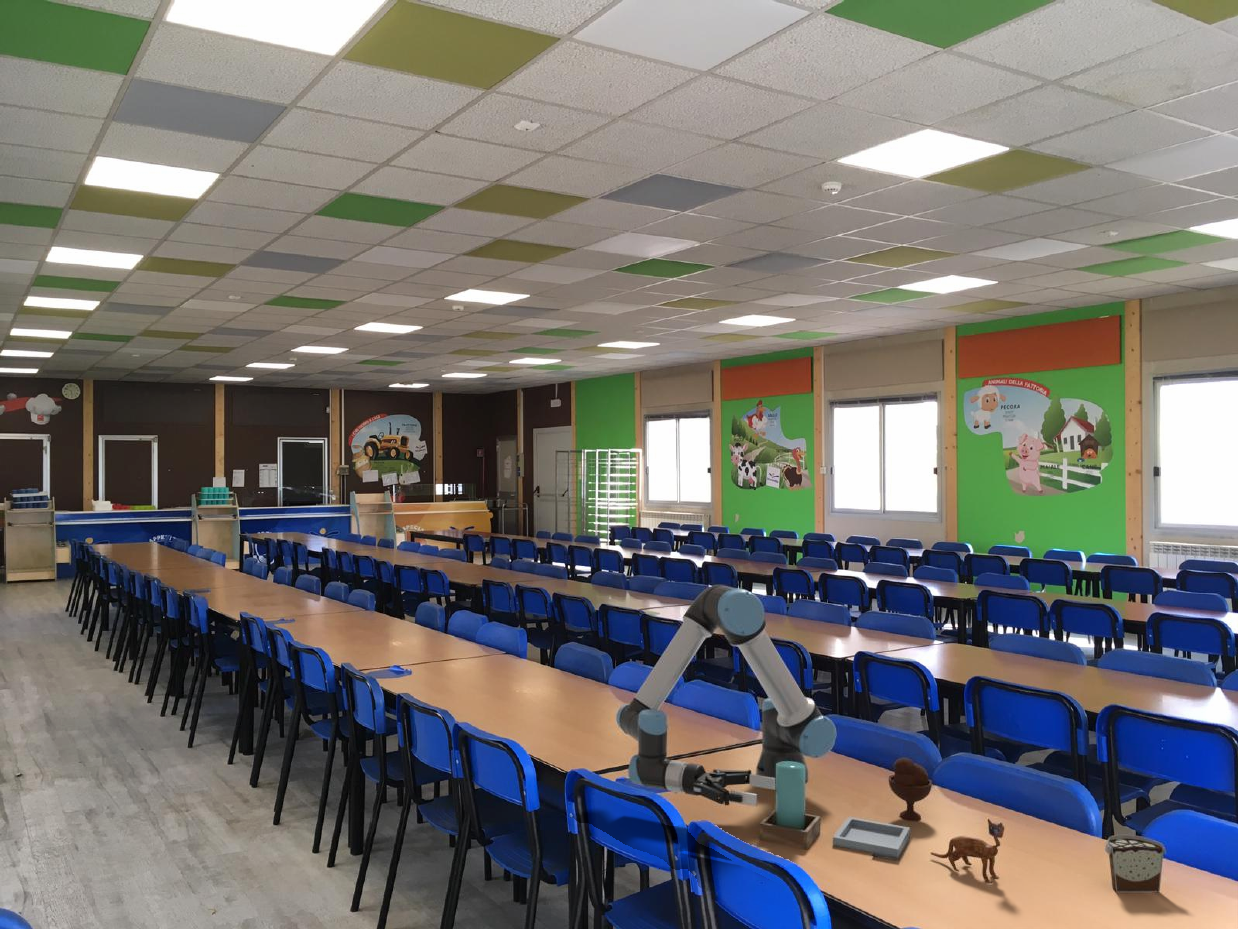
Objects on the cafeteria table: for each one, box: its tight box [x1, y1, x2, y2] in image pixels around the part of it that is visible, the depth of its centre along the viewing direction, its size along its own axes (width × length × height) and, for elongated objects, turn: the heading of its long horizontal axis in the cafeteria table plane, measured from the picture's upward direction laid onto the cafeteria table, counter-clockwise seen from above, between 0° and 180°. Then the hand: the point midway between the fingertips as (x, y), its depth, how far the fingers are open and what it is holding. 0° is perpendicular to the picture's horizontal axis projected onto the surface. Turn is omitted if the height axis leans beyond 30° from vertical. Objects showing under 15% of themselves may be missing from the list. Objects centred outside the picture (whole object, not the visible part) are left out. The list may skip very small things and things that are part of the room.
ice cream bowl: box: [888, 757, 933, 822], centre depth 236 cm, size 11×11×15 cm
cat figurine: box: [930, 818, 1005, 884], centre depth 203 cm, size 18×6×13 cm, turn 41°
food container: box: [1104, 834, 1167, 894], centre depth 196 cm, size 12×6×10 cm, turn 92°
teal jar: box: [775, 761, 806, 831], centre depth 221 cm, size 7×7×17 cm
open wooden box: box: [759, 807, 821, 850], centre depth 221 cm, size 12×12×4 cm
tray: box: [832, 816, 911, 861], centre depth 219 cm, size 15×15×2 cm
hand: (765, 792), depth 223 cm, fingers open, 13 cm apart
